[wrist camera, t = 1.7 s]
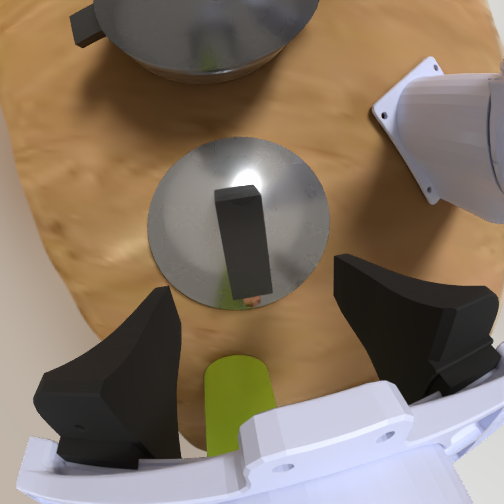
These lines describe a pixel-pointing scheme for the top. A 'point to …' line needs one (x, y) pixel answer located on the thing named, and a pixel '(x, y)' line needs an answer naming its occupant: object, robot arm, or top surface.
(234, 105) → the top surface
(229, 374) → the soap dispenser
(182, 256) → the cooker lid
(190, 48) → the cooker pot
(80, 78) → the top surface
